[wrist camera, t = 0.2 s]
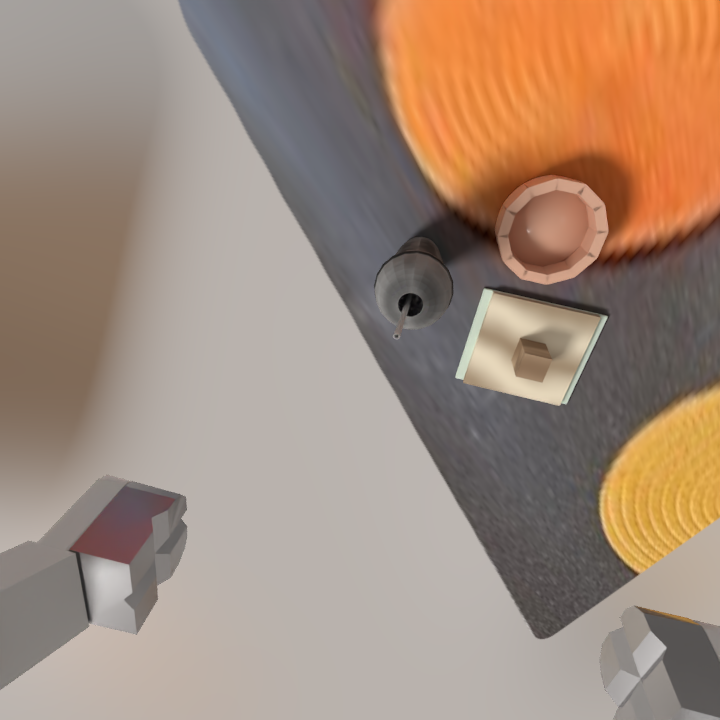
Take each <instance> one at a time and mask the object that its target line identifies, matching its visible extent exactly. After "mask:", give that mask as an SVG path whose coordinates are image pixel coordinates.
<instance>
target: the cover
mask: <svg viewBox="0 0 720 720" xmlns="http://www.w3.org/2000/svg"><path fill="white" fill-rule="evenodd" d="M600 319H601V317H600V316H599V315H597V314H593V313H589V312H584V311H580V310H575V309H571V308H566V307H562V306H558V305H553V304H549V303H544V302H540V301H536V300H531V299H527V298H522V297H518V296H514V295H509V294H505V293H500V292H496V291H493V293H492V296H491V299H490V302H489V305H488V308H487V311H486V314H485V317H484V320H483V323H482V326H481V329H480V331H479V334H478V337H477V340H476V343H475V346H474V349H473V352H472V355H471V358H470V361H469V364H468V367H467V370H466V373H465V376H464V379H463V383H466V384H470V385H475V386H479V387H483V388H487V389H491V390H495V391H500V392H504V393H508V394H512V395H516V396H521V397H525V398H529V399H533V400H537V401H542V402H546V403H550V404H554V405H558V406H560V404H561V402H562V400H563V398H564V396H565V394H566V391H567V389H568V387H569V385H570V383H571V381H572V379H573V376H574V374H575V372H576V370H577V368H578V366H579V364H580V361H581V359H582V357H583V355H584V353H585V351H586V349H587V346H588V344H589V342H590V340H591V338H592V336H593V334H594V331H595V329H596V327H597V325H598V323H599V321H600Z"/></svg>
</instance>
